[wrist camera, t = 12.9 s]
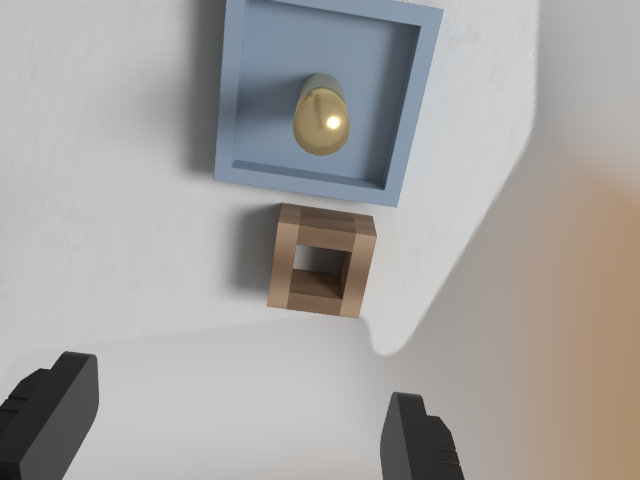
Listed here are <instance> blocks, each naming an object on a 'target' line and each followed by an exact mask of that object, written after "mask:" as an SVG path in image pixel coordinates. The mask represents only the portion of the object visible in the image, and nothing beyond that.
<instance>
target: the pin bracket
mask: <svg viewBox="0 0 640 480" xmlns="http://www.w3.org/2000/svg"><path fill="white" fill-rule="evenodd" d="M376 238H377V235H376V230H375V226H374V221H373V217H372V216H367V215H361V214H354V213H347V212H340V211H333V210H327V209H320V208H313V207H306V206H300V205H293V204H286V203H282V206H281V211H280V215H279V220H278V227H277V235H276V242H275V250H274V257H273V265H272V273H271V280H270V288H269V295H268V303H267V306H268V307H275V308H283V309H290V310H297V311H305V312H312V313H320V314H327V315H334V316H342V317H349V318H357V319H358V318H359V314H360V309H361V305H362V300H363V296H364V292H365V287H366V283H367V278H368V274H369V269H370V265H371V260H372V256H373V252H374V247H375V243H376ZM296 244H299V245H306V246H313V247H320V248H327V249H334V250H341V251H346V254H345V259H344V264H343V269H342V274H341V275H333V274H326V273H319V272H312V271H305V270H298V269H293V262H294V256H295V249H296Z"/></svg>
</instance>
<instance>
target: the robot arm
mask: <svg viewBox="0 0 640 480" xmlns="http://www.w3.org/2000/svg"><path fill="white" fill-rule="evenodd" d="M97 368H98V366H97V358H96V356H95V355H92V354H85V353H76V352H68V351H66V352H64V353H63V354H62V355H61V356H60V357H59V359H58V360H57V361H56V363H55V364H54V365H53V367H52V368H51V369H50V370H49V369H41V368H40V369H38V370H37V371H35V372H34V373H32V374H30V375H29V376H28V377H26V378H24V379H23V380H21V381H20V383H19V384H18V385H17V386H16V388H15V389H14V390H13V391H12V393H11V394H10V395H9V397H8V399H6V400H5V401H4V403H3V404H2V405H1V406H0V480H62V478H63V477H64V475H65V473H66V471H67V469H68V468H69V466H70V464H71V462H72V460H73V459H74V457H75V455H76V453H77V451H78V449H79V448H80V446H81V444H82V442H83V440H84V439H85V437H86V435H87V433H88V431H89V429H90V428H91V426H92V424H93V422H94V419H95V417H96V413H97V410H98V405H99V389H98V369H97ZM455 450H456V448H455V445H454V441H453V438H452V435H451V432H450V431H449V429H448V428H447V427H446V425H445V424H444V423H443V421H442V420H441V419H440V417H437V416H429V415H427V414H426V411H425V407H424V402H423V398H422V396H421V395H418V394H408V393H400V392H393V394H392V396H391V400H390V404H389V407H388V411H387V415H386V419H385V423H384V427H383V430H382V435H381V443H380V456H381V465H382V474H383V480H465V479H464V476H463V472H462V469H461V466H459V463H460V462H459V459H458V456H457V452H456V451H455Z"/></svg>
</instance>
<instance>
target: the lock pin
mask: <svg viewBox="0 0 640 480" xmlns="http://www.w3.org/2000/svg"><path fill="white" fill-rule="evenodd" d="M349 132H350V122H349V117H348V113H347V108H346V104H345V99H344V95H343V90H342V87H341V85H340V83H339V82H338V80H337V79H336V78H334V77H333V76H331V75H329V74H326V73H317V74H314V75H311V76H310V77H308V78H307V79H306V80H305V81H304V83H303V84H302V86H301V89H300V93H299V98H298V102H297V107H296V111H295V116H294V121H293V134H294V137H295V140H296V141H297V143H298V145H299V146H300V147H301V148H302V149H303V150H305V151H306V152H308V153H310V154H313V155H317V156H326V155H330V154H333V153H335V152H337V151H338V150H339V149H341V148H342V147H343V145H344V144H345V143H346V141H347V139H348V136H349Z"/></svg>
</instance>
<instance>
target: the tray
mask: <svg viewBox="0 0 640 480" xmlns="http://www.w3.org/2000/svg"><path fill="white" fill-rule="evenodd" d="M443 11H444V9H439V8H433V7H427V6H421V5H416V4H410V3H404V2H398V1H393V0H226V13H225V27H224V42H223V56H222V70H221V84H220V99H219V113H218V127H217V141H216V156H215V170H214V180H216V181H222V182H229V183H236V184H242V185H249V186H256V187H262V188H269V189H276V190H283V191H289V192H296V193H303V194H309V195H316V196H323V197H329V198H336V199H343V200H350V201H356V202H363V203H370V204H376V205H383V206H390V207H396V208H397V205H398V201H399V196H400V192H401V188H402V184H403V180H404V175H405V171H406V167H407V163H408V158H409V154H410V150H411V146H412V142H413V137H414V133H415V129H416V125H417V121H418V116H419V112H420V108H421V104H422V99H423V95H424V91H425V87H426V83H427V78H428V74H429V70H430V66H431V62H432V57H433V53H434V49H435V45H436V40H437V36H438V32H439V28H440V24H441V19H442V15H443ZM317 73H326V74H329V75H331V76H333V77H334V78H336V79H337V80H338V82H339V83H340V85H341V87H342V90H343V95H344V99H345V104H346V108H347V113H348V117H349V122H350V132H349V136H348V139H347V141H346V143H345V144H344V145H343V147H342V148H341V149H339V150H338V151H337V152H335V153H333V154H330V155H326V156H317V155H313V154H310V153H308V152H306V151H305V150H303V149H302V148H301V147H300V146H299V145H298V143H297V141H296V140H295V137H294V134H293V121H294V116H295V111H296V107H297V102H298V98H299V93H300V89H301V86H302V84H303V83H304V81H305V80H306V79H307V78H308V77H310V76H311V75H314V74H317Z"/></svg>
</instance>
